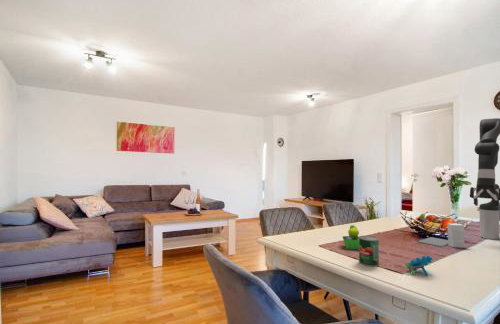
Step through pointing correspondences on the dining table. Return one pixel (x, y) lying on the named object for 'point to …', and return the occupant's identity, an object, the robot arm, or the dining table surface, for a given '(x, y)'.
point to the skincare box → (456, 235)
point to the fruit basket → (352, 238)
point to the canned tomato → (369, 250)
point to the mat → (434, 241)
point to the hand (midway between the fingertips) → (485, 206)
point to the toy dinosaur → (419, 264)
